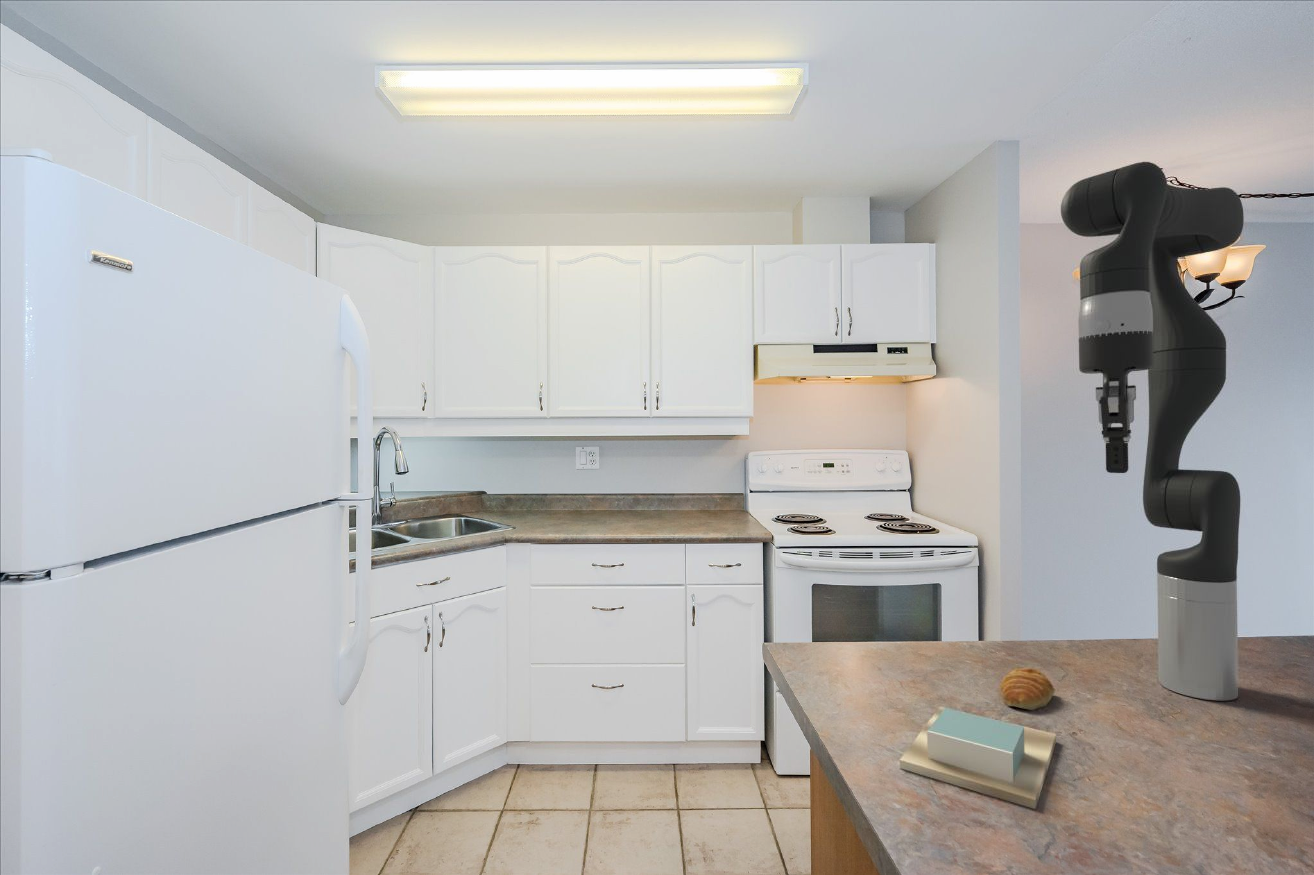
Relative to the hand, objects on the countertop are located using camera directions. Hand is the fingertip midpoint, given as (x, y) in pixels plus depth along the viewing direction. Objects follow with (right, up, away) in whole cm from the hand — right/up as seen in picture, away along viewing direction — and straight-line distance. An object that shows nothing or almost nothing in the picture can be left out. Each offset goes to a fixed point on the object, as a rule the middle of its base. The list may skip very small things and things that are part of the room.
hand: (1117, 472), depth 79 cm
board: (-17, -35, -1) cm, 39 cm away
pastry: (-2, -35, +15) cm, 38 cm away
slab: (-17, -32, 0) cm, 36 cm away
